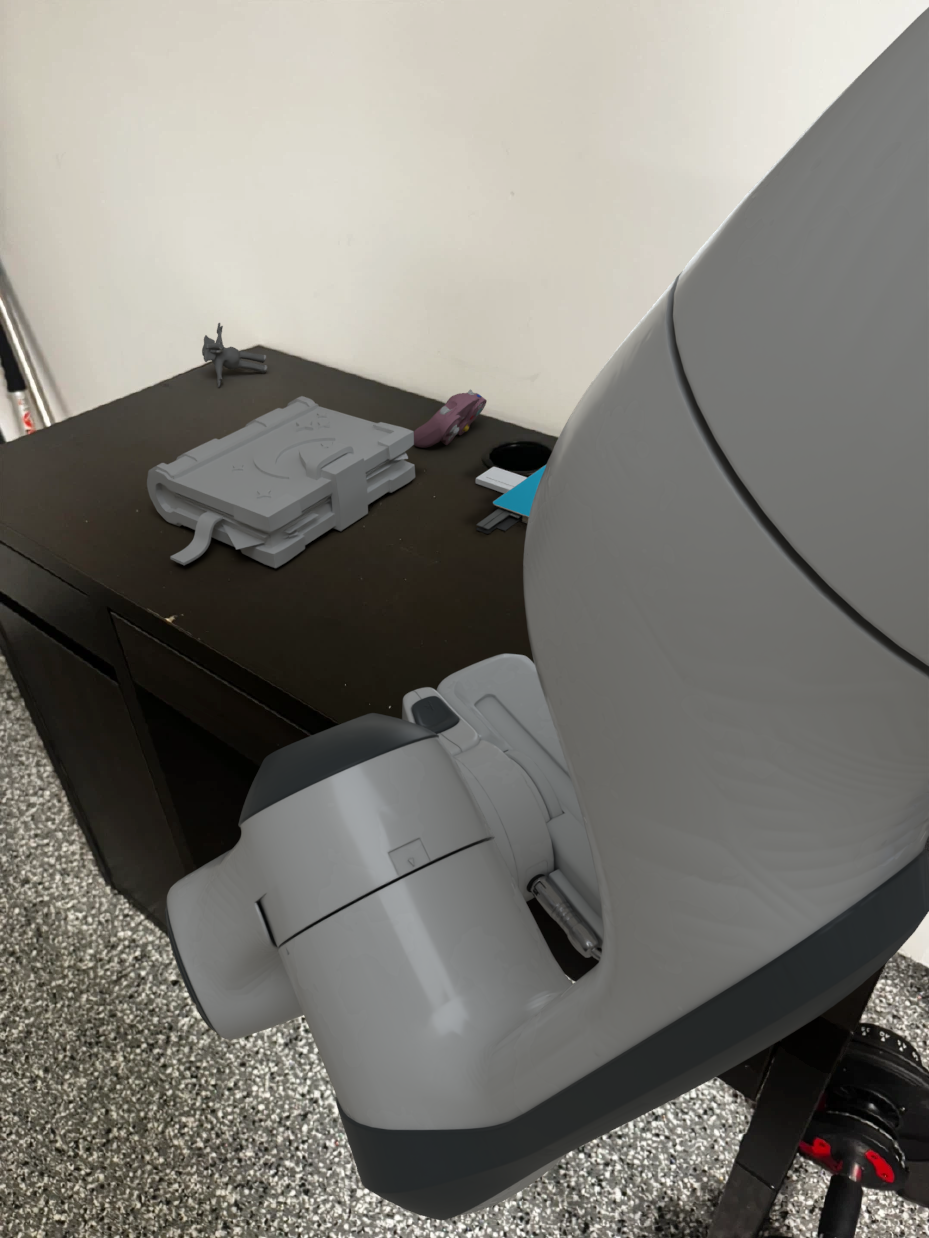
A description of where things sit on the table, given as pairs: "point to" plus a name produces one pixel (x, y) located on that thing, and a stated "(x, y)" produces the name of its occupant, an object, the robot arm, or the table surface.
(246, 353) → the grey sculpted figure
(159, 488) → the book
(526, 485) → the blue and white device
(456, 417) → the video game controller
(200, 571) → the table surface
